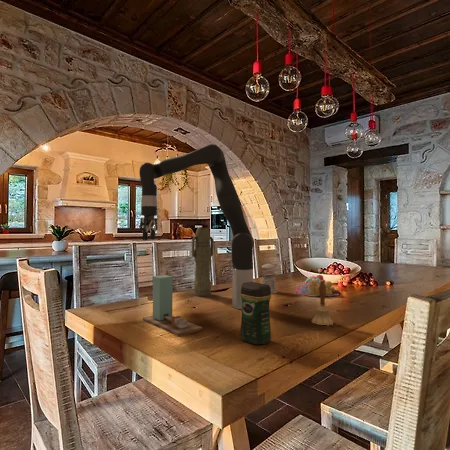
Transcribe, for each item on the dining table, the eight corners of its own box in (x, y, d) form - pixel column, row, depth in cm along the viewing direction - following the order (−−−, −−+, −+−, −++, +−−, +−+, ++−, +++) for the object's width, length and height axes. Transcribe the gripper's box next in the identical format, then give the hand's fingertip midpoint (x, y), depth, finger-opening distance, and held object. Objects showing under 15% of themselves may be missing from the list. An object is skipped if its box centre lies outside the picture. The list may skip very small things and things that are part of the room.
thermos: (216, 294, 170) (217, 227, 170) (197, 297, 163) (198, 227, 162) (207, 291, 177) (207, 227, 177) (188, 294, 170) (188, 227, 170)
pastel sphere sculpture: (349, 296, 169) (349, 279, 169) (309, 299, 162) (309, 281, 162) (322, 287, 193) (322, 272, 193) (286, 289, 186) (286, 273, 186)
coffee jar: (275, 341, 103) (275, 283, 103) (258, 347, 98) (258, 286, 98) (252, 333, 111) (253, 279, 110) (236, 339, 105) (236, 281, 105)
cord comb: (142, 319, 125) (142, 310, 125) (165, 315, 132) (165, 306, 132) (178, 336, 107) (178, 325, 107) (202, 329, 114) (202, 319, 114)
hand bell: (330, 327, 118) (331, 283, 117) (308, 323, 122) (308, 281, 122) (336, 321, 125) (336, 280, 125) (314, 318, 129) (315, 278, 129)
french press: (280, 291, 180) (280, 246, 180) (271, 294, 170) (272, 247, 170) (264, 289, 186) (264, 245, 185) (255, 292, 176) (255, 246, 176)
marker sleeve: (152, 317, 124) (152, 276, 124) (165, 315, 128) (165, 274, 127) (159, 320, 120) (159, 278, 120) (172, 317, 124) (172, 276, 124)
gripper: (150, 204, 146) (150, 240, 146) (162, 206, 160) (162, 239, 160) (135, 204, 148) (134, 240, 148) (148, 206, 162) (148, 239, 162)
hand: (149, 239), depth 154 cm, fingers open, 8 cm apart
